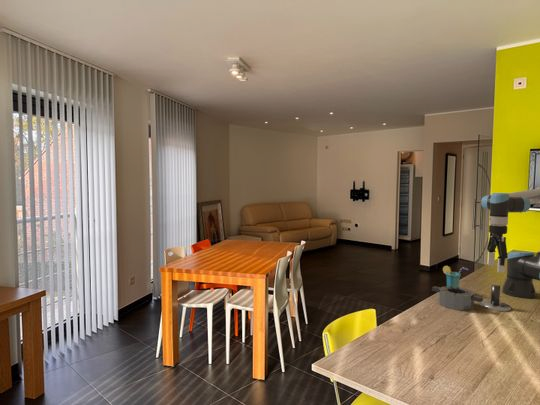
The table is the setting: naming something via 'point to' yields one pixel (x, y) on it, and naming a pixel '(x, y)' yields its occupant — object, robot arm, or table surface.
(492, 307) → the lid
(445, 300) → the pot
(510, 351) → the table surface
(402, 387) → the table surface
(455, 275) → the cup
